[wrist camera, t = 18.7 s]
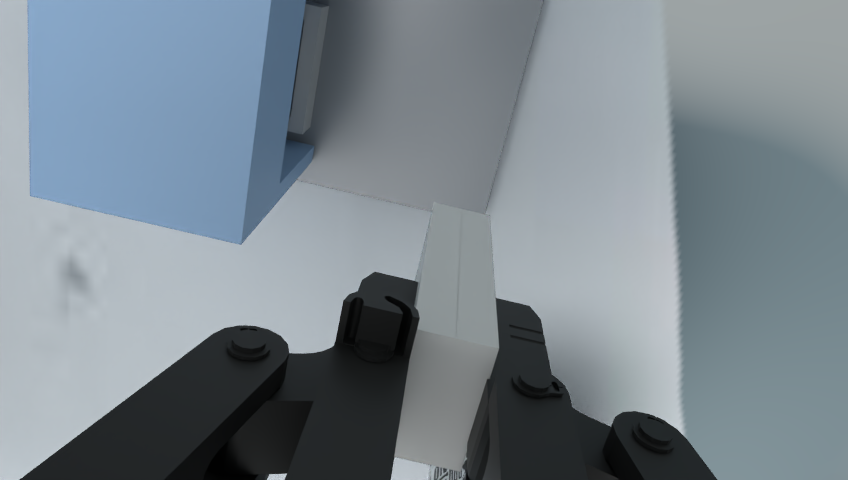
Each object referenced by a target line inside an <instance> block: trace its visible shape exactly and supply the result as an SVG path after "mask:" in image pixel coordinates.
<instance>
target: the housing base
mask: <svg viewBox="0 0 848 480" xmlns="http://www.w3.org/2000/svg"><path fill="white" fill-rule="evenodd" d="M543 1H544V0H306V3H305V10H304V17H303V24H302V31H301V38H300V45H299V52H298V59H297V66H296V73H295V80H294V87H293V94H292V101H291V108H290V115H289V122H288V129H287V136H286V139H288V140H292V141H296V142H300V143H305V144H309V145H313V146H314V152H313V158H312V162H311V163H310V164H309V166H308V167H307V168H306V169H305V170H304V171H303V173H302V174H301V175H300V176H299V177H298V178H297V180H298V181H302V182H307V183H311V184H315V185H320V186H324V187H328V188H332V189H337V190H341V191H345V192H350V193H354V194H358V195H362V196H367V197H371V198H375V199H379V200H384V201H388V202H392V203H397V204H401V205H405V206H409V207H414V208H418V209H422V210H427V211H431V212H432V209H433V204H434V203H438V204H443V205H447V206H451V207H456V208H460V209H464V210H468V211H473V212H477V213H481V214H485V211H486V208H487V204H488V200H489V197H490V193H491V190H492V186H493V182H494V179H495V175H496V172H497V168H498V164H499V161H500V157H501V153H502V150H503V146H504V143H505V139H506V135H507V132H508V128H509V124H510V121H511V117H512V114H513V110H514V106H515V103H516V99H517V95H518V92H519V88H520V85H521V81H522V77H523V74H524V70H525V67H526V63H527V59H528V56H529V52H530V48H531V45H532V41H533V38H534V34H535V30H536V27H537V23H538V19H539V16H540V12H541V9H542V5H543Z"/></svg>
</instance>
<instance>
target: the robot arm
mask: <svg viewBox="0 0 848 480" xmlns="http://www.w3.org/2000/svg"><path fill="white" fill-rule="evenodd" d="M466 453H467V470H466V473H465V477H464V480H717V479H716V477H715V476H714V475H713V473H712V472H711V471H710V469H709V468H708V467H707V465H706V464H705V463H704V461H703V460H702V459H701V458H700V456H699V455H698V454H697V452H696V451H695V450H694V448H693V447H692V445H691V444H690V443H689V441H688V440H687V439H686V438H685V437H684V436H683V435H682V434H681V433H680V432H679V431H678V430H677V429H676V428H674V427H673V426H671V425H670V424H668V423H667V422H665V421H664V420H662V419H660V418H658V417H657V418H656V417H655V416H653V415H650V414H645V413H640V412H635V411H632V412H622V413H621V414H619V415H617V416H616V417H615V419H614V421H613V423H612V426H611V427H610V426H608V425H606V424H603V423H601V422H599V421H597V420H594V419H592V418H590V417H588V416H586V415H584V414H582V413H580V412H578V411H577V410H575V409H574V408H572V405H571V400H570V396H569V393H568V391H567V389H566V387H565V386H564V385H563V384H562V383H561V382H560V381H559V380H558V379H557V378H556V377H554V376H553V375H551V370H550V365H549V360H548V354H547V349H546V346H545V339H544V335H543V329H542V324H541V319H540V318H539V317H538V316H537V314H536V313H535V312H534V311H533V310H532V309H531V307H530V306H527V305H523V304H519V303H514V302H510V301H506V300H501V299H497V298H496V296H495V282H494V268H493V254H492V240H491V226H490V215H485V214H481V213H477V212H473V211H468V210H464V209H460V208H456V207H451V206H447V205H443V204H438V203H434V204H433V209H432V213H431V217H430V221H429V225H428V229H427V233H426V237H425V242H424V246H423V250H422V254H421V258H420V262H419V266H418V270H417V275H416V279H415V281H412V280H408V279H403V278H399V277H395V276H390V275H386V274H382V273H377V272H374V273H372V274H371V275H369V276H368V277H366V278H364V279H363V280H362V282H361V285H360V287H359V290H358V291H357V292H355V293H352V294H349V295H348V296H347V297H346V299H345V300H344V301H343V306H342V311H341V316H340V321H339V326H338V331H337V337H336V342H335V344H334V346H333V347H332V348H330V349H327V350H325V351H322V352H317V353H307V354H292V353H289V349H288V344H287V343H286V342H285V341H284V339H283V338H282V337H281V336H279V335H278V334H276V333H274V332H272V331H270V330H268V329H264V328H260V327H256V326H234V327H229V328H224V329H222V330H220V331H218V332H216V333H214V334H212V335H211V336H210V337H208V338H207V339H206V340H204V341H203V342H202V343H200V344H199V345H198V346H196V347H195V348H194V349H192V350H191V351H190V352H188V353H187V354H186V355H184V356H183V357H182V358H180V359H179V360H178V361H177V362H175V363H174V364H173V365H171V366H170V367H169V368H167V369H166V370H165V371H163V372H162V373H161V374H159V375H158V376H157V377H155V378H154V379H153V380H151V381H150V382H149V383H147V384H146V385H145V386H143V387H142V388H141V389H139V390H138V391H137V392H135V393H134V394H133V395H131V396H130V397H129V398H127V399H126V400H125V401H123V402H122V403H121V404H119V405H118V406H117V407H115V408H114V409H113V410H111V411H110V412H109V413H107V414H106V415H105V416H104V417H102V418H101V419H100V420H98V421H97V422H96V423H94V424H93V425H92V426H90V427H89V428H88V429H86V430H85V431H84V432H82V433H81V434H80V435H78V436H77V437H76V438H74V439H73V440H72V441H70V442H69V443H68V444H66V445H65V446H64V447H62V448H61V449H60V450H58V451H57V452H56V453H54V454H53V455H52V456H50V457H49V458H48V459H46V460H45V461H44V462H42V463H41V464H40V465H38V466H37V467H36V468H34V469H33V470H32V471H31V472H29V473H28V474H27V475H25V476H24V477H23V478H21V479H20V480H267V478H268V476H269V474H285V473H287V475H286V478H285V480H391V474H392V467H393V461H394V457H397V458H401V459H406V460H410V461H415V462H419V463H423V464H428V465H432V466H437V467H441V468H446V469H450V470H454V471H459V472H461V469H462V466H463V463H464V460H465V456H466Z"/></svg>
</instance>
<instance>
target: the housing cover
mask: <svg viewBox="0 0 848 480" xmlns="http://www.w3.org/2000/svg"><path fill="white" fill-rule="evenodd" d="M305 3H306V0H28V71H29V148H30V196H32V197H37V198H41V199H45V200H50V201H54V202H58V203H63V204H67V205H71V206H76V207H80V208H84V209H89V210H93V211H97V212H102V213H106V214H110V215H115V216H119V217H123V218H128V219H132V220H136V221H141V222H145V223H149V224H154V225H158V226H162V227H166V228H171V229H175V230H179V231H184V232H188V233H192V234H197V235H201V236H205V237H210V238H214V239H218V240H223V241H227V242H231V243H236V244H240V245H241V244H242V243H243V242H244V241H245V239H246V238H247V237H248V236H249V235H250V234H251V232H252V231H253V230H254V229H255V228H256V226H257V225H258V224H259V223H260V222H261V221H262V219H263V218H264V217H265V216H266V215H267V214H268V212H269V211H270V210H271V209H272V208H273V207H274V205H275V204H276V203H277V202H278V201H279V200H280V198H281V197H282V196H283V195H284V194H285V193H286V191H287V190H288V189H289V188H290V187H291V185H292V184H293V183H294V182H295V181H296V180H297V178H298V177H299V176H300V175H301V174H302V173H303V171H304V170H305V169H306V168H307V167H308V166H309V164H310V163H311V162H312V158H313V152H314V146H313V145H309V144H305V143H300V142H296V141H292V140H288V139H286V136H287V129H288V122H289V115H290V108H291V101H292V94H293V87H294V80H295V73H296V66H297V59H298V52H299V45H300V38H301V31H302V24H303V17H304V10H305Z"/></svg>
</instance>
